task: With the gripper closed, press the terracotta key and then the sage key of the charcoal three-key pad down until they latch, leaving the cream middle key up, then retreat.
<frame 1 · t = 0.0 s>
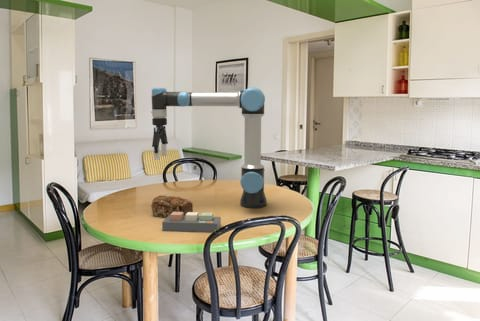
hand: (160, 157, 215), 28 cm above the table, fingers open, 13 cm apart
key terracotta: (177, 217, 186), point 5 cm above the table, slide at 0.0 cm
key sage: (207, 217, 185), point 5 cm above the table, slide at 0.0 cm
key cream: (192, 217, 185), point 5 cm above the table, slide at 0.0 cm
bread: (172, 216, 206), on the table
keypad board: (192, 227, 186), on the table
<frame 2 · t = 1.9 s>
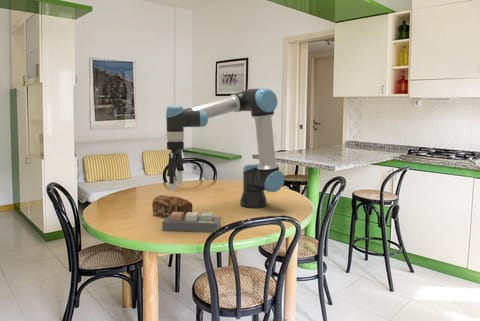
hand: (176, 187, 184), 19 cm above the table, fingers open, 12 cm apart
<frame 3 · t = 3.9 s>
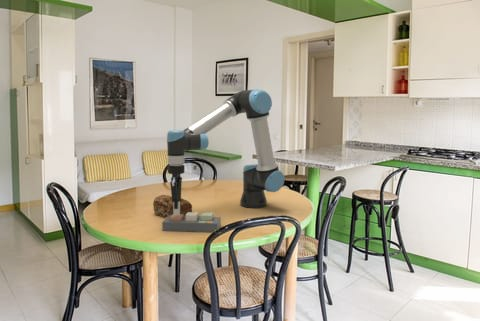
hand: (176, 215, 186), 6 cm above the table, fingers closed
key terracotta: (177, 219, 186), point 4 cm above the table, slide at 1.1 cm, touching gripper
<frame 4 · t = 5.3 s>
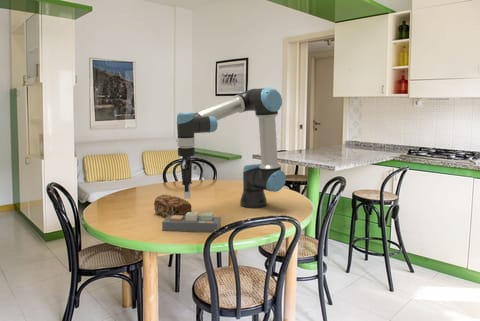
hand: (187, 198, 185), 14 cm above the table, fingers closed
key terracotta: (177, 220, 186), point 3 cm above the table, slide at 1.7 cm
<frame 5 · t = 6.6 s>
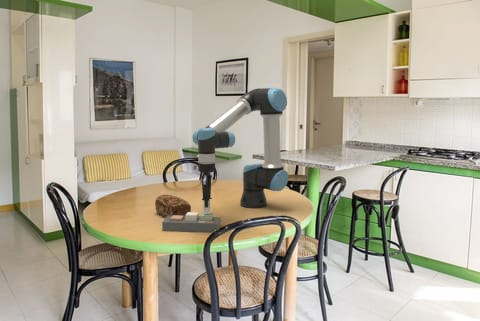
hand: (206, 213, 184), 7 cm above the table, fingers closed
key sage: (207, 217, 185), point 5 cm above the table, slide at 0.1 cm, touching gripper
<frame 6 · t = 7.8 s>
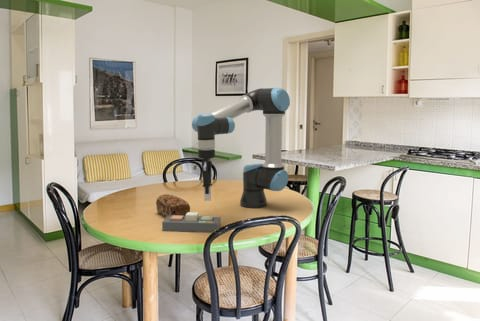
hand: (207, 200, 184), 13 cm above the table, fingers closed
key sage: (207, 221, 185), point 3 cm above the table, slide at 1.7 cm
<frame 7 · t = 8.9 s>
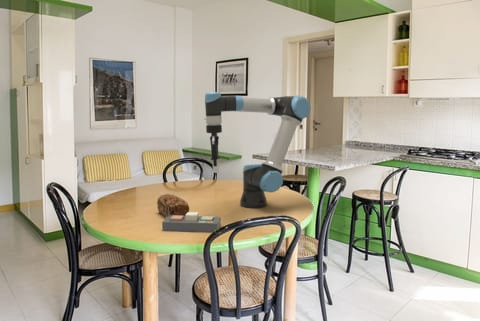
hand: (215, 172, 199), 23 cm above the table, fingers closed
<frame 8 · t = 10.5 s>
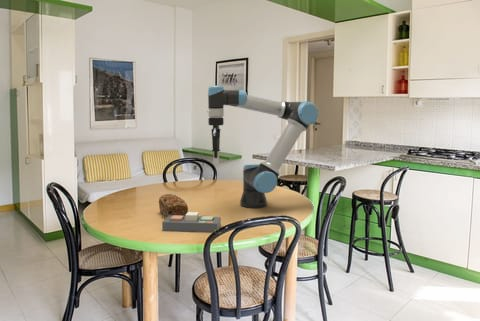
hand: (216, 164, 204), 26 cm above the table, fingers closed
at the end: key terracotta slide at 1.7 cm; key sage slide at 1.7 cm; key cream slide at 0.0 cm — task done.
